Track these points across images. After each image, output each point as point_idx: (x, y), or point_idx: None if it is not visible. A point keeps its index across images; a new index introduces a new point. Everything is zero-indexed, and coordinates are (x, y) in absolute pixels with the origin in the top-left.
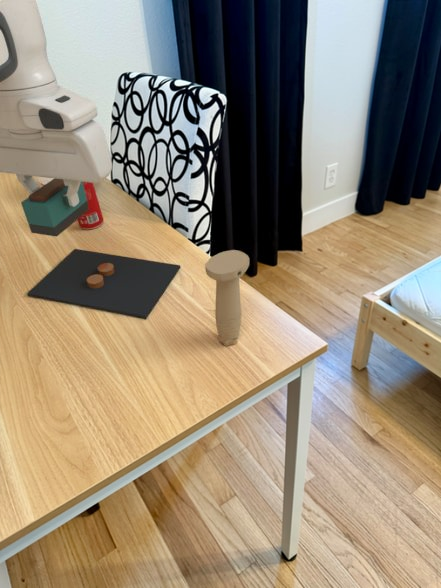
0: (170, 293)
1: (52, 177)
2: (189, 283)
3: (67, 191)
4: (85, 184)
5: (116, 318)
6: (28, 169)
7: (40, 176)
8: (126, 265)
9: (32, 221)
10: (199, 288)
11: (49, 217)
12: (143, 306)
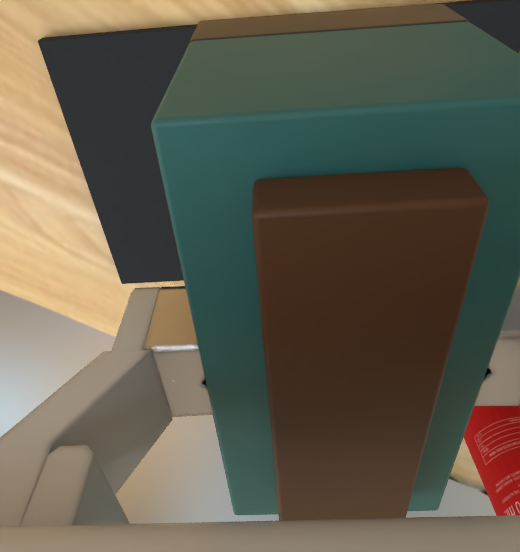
0: (69, 176)
1: (151, 538)
2: (54, 230)
3: (106, 389)
4: (499, 480)
5: (133, 2)
6: None
7: (376, 527)
8: None
9: (417, 31)
10: (14, 220)
11: (191, 69)
12: (82, 86)
